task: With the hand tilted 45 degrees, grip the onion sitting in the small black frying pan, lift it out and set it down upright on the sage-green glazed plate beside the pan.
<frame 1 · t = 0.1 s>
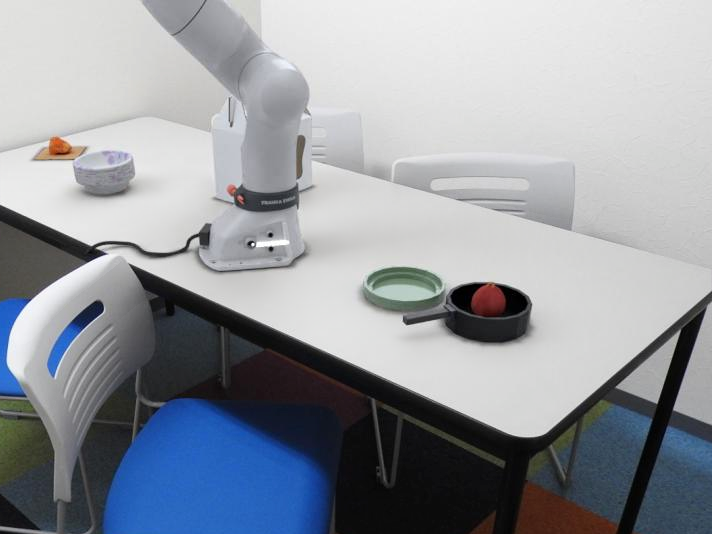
onion: (485, 323, 138), resting on pan
pan: (485, 322, 138), on the table
plate: (403, 294, 147), on the table
paper bowls: (107, 189, 201), on the table
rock: (60, 154, 227), on the table
gable box: (264, 193, 196), on the table
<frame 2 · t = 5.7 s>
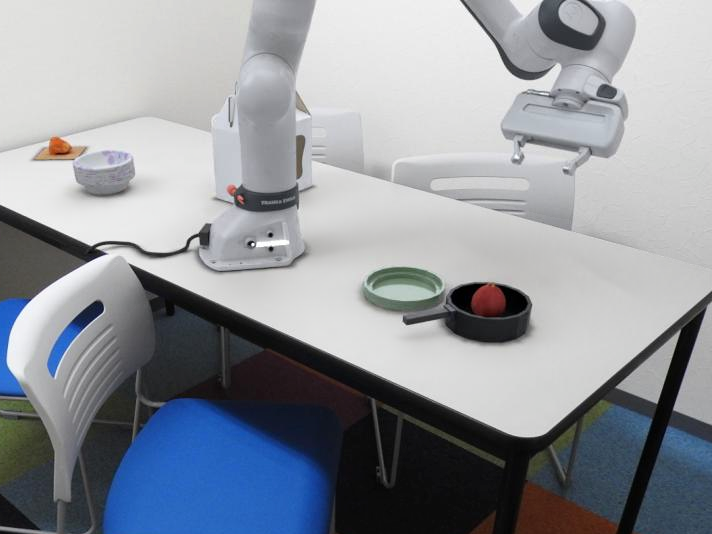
hand: (540, 168, 131), 24 cm above the table, tool tilted 45°, fingers open, 8 cm apart
nothing on the table moved.
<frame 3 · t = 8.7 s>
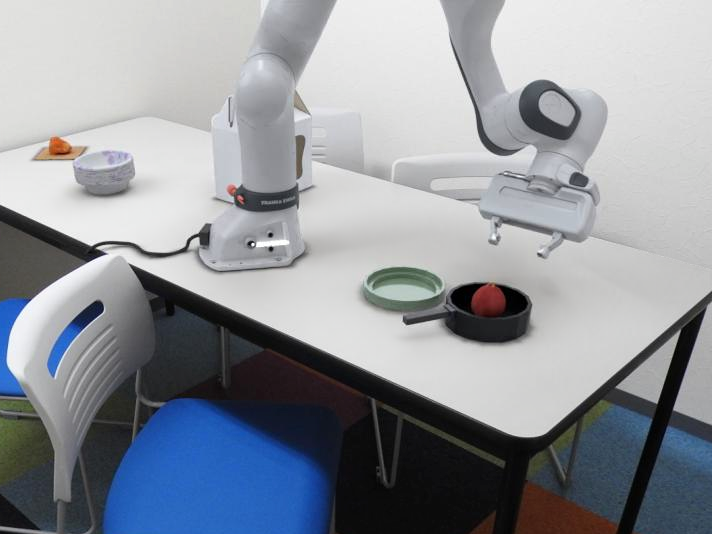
hand: (516, 250, 136), 11 cm above the table, tool tilted 45°, fingers open, 8 cm apart
nothing on the table moved.
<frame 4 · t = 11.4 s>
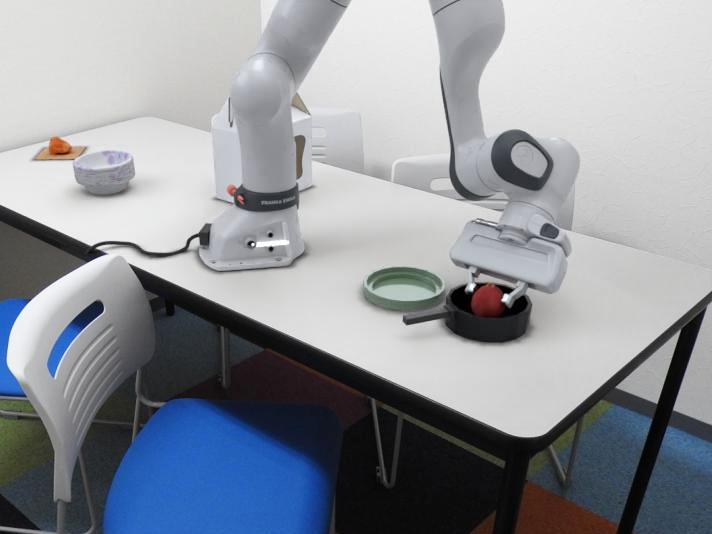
hand: (487, 299, 135), 5 cm above the table, tool tilted 45°, fingers closed on onion, 5 cm apart
onion: (485, 323, 138), resting on pan, touching gripper
everything else where it was.
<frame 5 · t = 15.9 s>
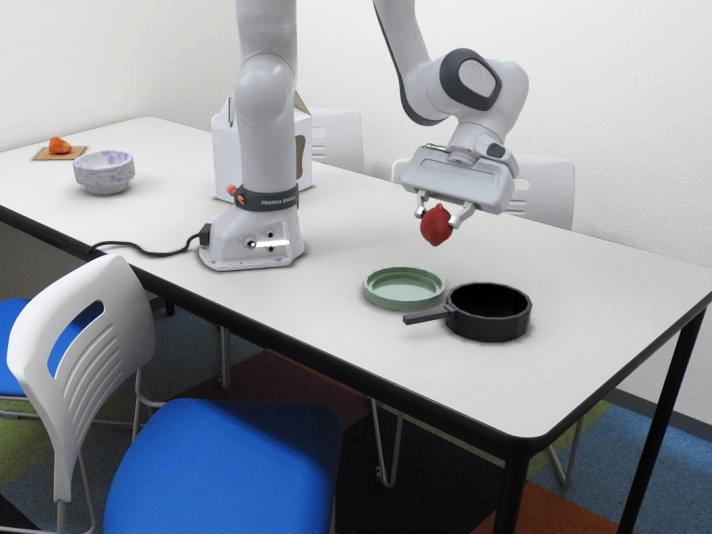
hand: (435, 222, 135), 16 cm above the table, tool tilted 45°, fingers closed on onion, 5 cm apart
onion: (434, 247, 138), point 11 cm above the table, touching gripper
everything else where it was.
when the fingers open (5 cm above the table, at t = 20.4 s): onion stays where it is, resting on plate.
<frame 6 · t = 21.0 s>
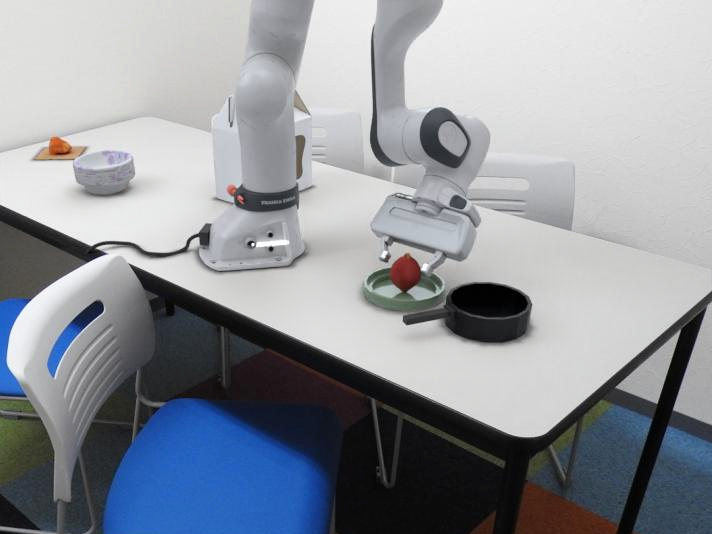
hand: (403, 267, 144), 6 cm above the table, tool tilted 45°, fingers open, 8 cm apart
onion: (404, 292, 147), resting on plate
everything else where it was.
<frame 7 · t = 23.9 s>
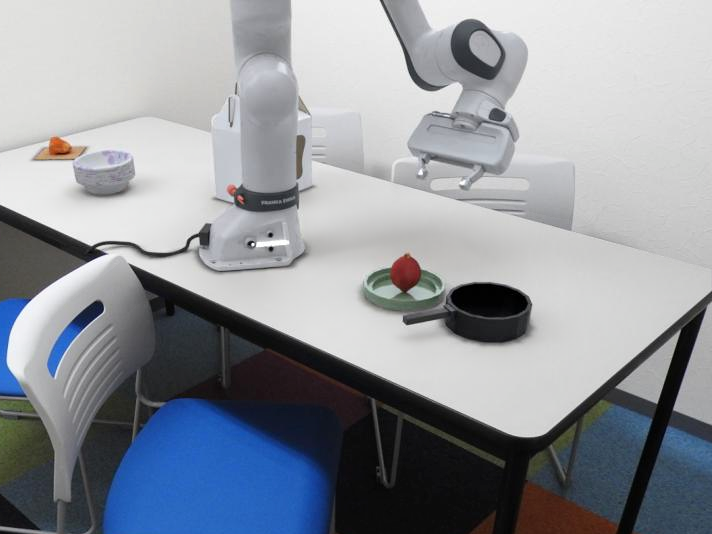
hand: (441, 183, 144), 18 cm above the table, tool tilted 45°, fingers open, 8 cm apart
nothing on the table moved.
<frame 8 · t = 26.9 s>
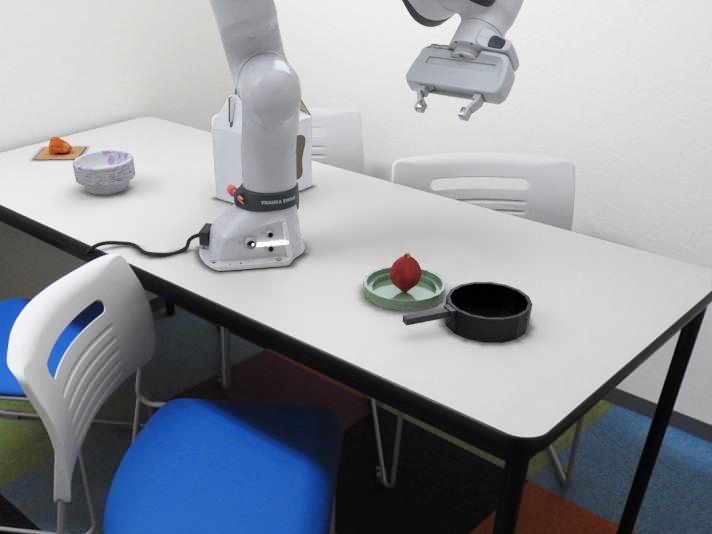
hand: (440, 114, 142), 29 cm above the table, tool tilted 45°, fingers open, 8 cm apart
nothing on the table moved.
at the end: onion inside the target area in the plate (0.1 cm from its centre), point 0.4 cm above the plate's base; onion tilted 0°; the gripper is holding nothing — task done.
